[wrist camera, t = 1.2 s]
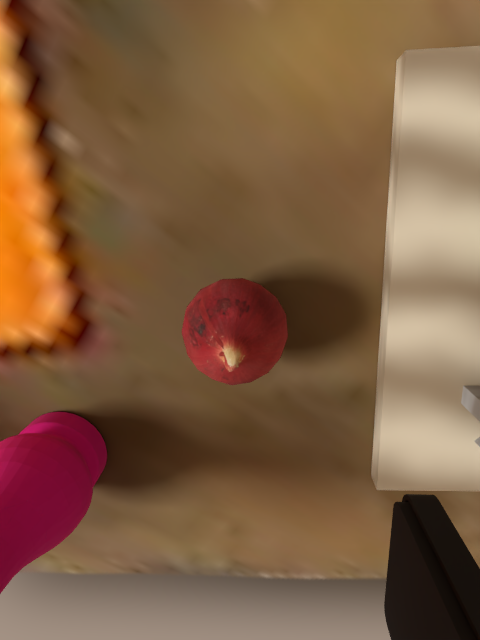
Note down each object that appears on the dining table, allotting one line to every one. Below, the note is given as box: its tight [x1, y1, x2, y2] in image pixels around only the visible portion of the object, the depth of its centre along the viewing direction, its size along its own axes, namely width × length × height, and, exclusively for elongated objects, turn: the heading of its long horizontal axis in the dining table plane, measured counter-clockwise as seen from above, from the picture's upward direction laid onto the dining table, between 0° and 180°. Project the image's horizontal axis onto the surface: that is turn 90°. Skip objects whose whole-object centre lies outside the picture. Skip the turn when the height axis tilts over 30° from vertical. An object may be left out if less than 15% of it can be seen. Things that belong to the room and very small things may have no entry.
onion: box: [182, 278, 288, 385], centre depth 22 cm, size 6×6×8 cm
